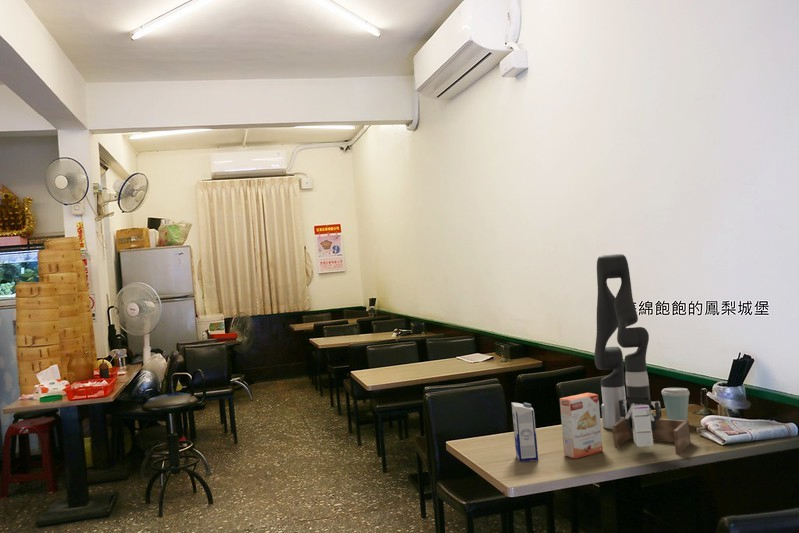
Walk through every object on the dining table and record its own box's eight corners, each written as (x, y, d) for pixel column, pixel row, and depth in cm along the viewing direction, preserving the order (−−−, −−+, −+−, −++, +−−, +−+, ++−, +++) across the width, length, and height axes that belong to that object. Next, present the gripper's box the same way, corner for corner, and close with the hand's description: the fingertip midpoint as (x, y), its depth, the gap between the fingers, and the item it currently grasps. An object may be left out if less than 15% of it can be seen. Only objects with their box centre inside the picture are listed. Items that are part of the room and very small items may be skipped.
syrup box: (654, 446, 203) (650, 404, 203) (636, 446, 204) (632, 405, 204) (650, 441, 208) (646, 401, 209) (633, 442, 209) (629, 401, 210)
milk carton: (516, 456, 214) (511, 401, 215) (534, 454, 214) (529, 400, 215) (519, 461, 207) (514, 405, 208) (538, 460, 207) (533, 404, 208)
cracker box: (575, 459, 205) (570, 400, 205) (563, 456, 210) (558, 397, 211) (604, 451, 211) (599, 393, 212) (592, 448, 216) (586, 391, 217)
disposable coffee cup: (660, 422, 243) (657, 386, 244) (687, 420, 242) (684, 384, 242) (668, 428, 233) (665, 391, 233) (697, 427, 231) (693, 389, 232)
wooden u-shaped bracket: (614, 446, 215) (612, 425, 216) (628, 436, 227) (626, 415, 227) (679, 454, 201) (677, 431, 201) (690, 442, 213) (688, 420, 213)
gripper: (661, 382, 205) (666, 429, 204) (620, 381, 214) (624, 425, 214) (655, 386, 199) (660, 434, 199) (613, 384, 208) (617, 430, 208)
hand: (641, 430), depth 206 cm, fingers closed on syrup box, 7 cm apart
